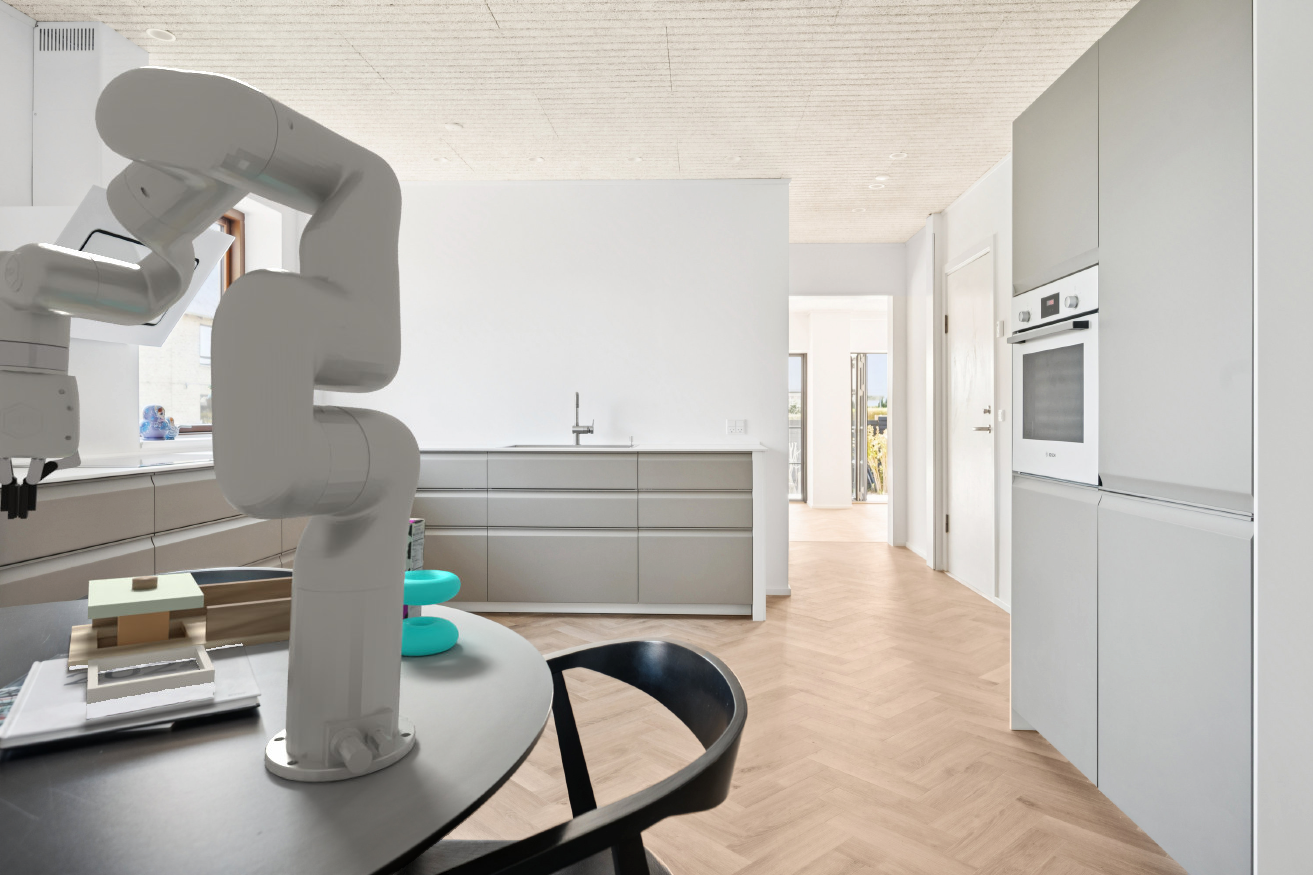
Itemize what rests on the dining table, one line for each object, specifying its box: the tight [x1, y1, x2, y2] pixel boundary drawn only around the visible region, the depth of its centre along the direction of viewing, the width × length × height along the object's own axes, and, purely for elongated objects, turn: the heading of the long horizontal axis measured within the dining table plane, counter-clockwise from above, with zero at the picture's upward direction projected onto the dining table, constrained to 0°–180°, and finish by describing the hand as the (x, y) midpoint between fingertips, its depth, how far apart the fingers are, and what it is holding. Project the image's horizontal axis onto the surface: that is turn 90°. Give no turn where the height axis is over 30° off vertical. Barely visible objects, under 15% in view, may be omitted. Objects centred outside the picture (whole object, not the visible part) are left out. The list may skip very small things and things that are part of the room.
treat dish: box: [86, 645, 216, 705], centre depth 74 cm, size 11×11×3 cm
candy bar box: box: [403, 517, 426, 619], centre depth 103 cm, size 11×5×16 cm, turn 84°
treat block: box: [117, 611, 170, 646], centre depth 86 cm, size 5×5×5 cm
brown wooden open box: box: [67, 576, 292, 668], centre depth 90 cm, size 17×27×7 cm, turn 130°
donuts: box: [401, 569, 462, 657], centre depth 93 cm, size 10×10×10 cm
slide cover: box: [87, 572, 204, 620], centre depth 86 cm, size 16×11×3 cm
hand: (18, 517), depth 79 cm, fingers closed
